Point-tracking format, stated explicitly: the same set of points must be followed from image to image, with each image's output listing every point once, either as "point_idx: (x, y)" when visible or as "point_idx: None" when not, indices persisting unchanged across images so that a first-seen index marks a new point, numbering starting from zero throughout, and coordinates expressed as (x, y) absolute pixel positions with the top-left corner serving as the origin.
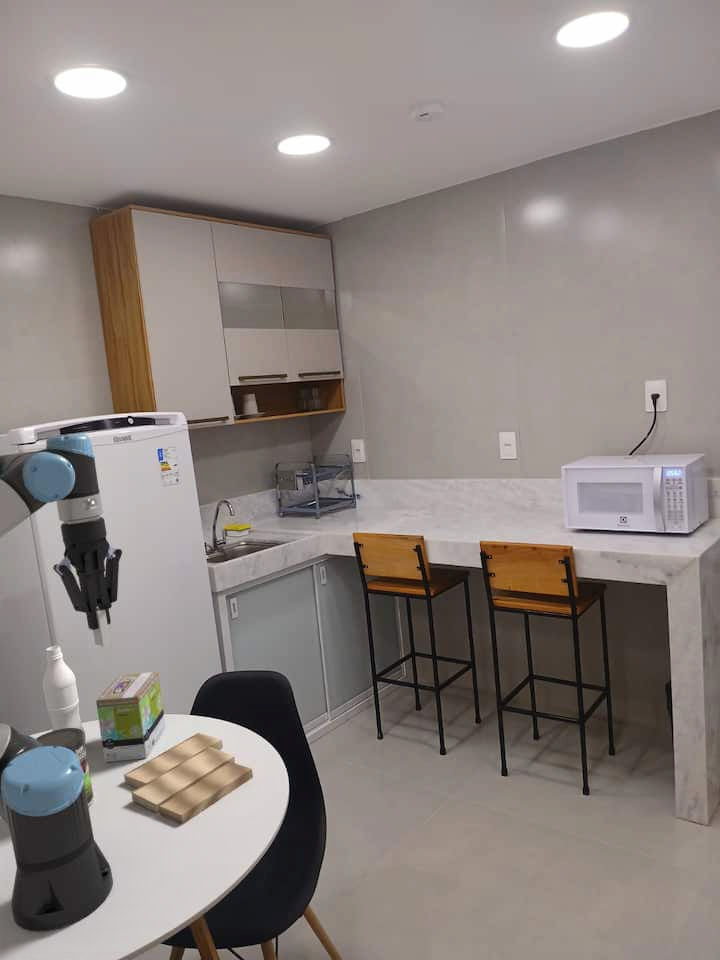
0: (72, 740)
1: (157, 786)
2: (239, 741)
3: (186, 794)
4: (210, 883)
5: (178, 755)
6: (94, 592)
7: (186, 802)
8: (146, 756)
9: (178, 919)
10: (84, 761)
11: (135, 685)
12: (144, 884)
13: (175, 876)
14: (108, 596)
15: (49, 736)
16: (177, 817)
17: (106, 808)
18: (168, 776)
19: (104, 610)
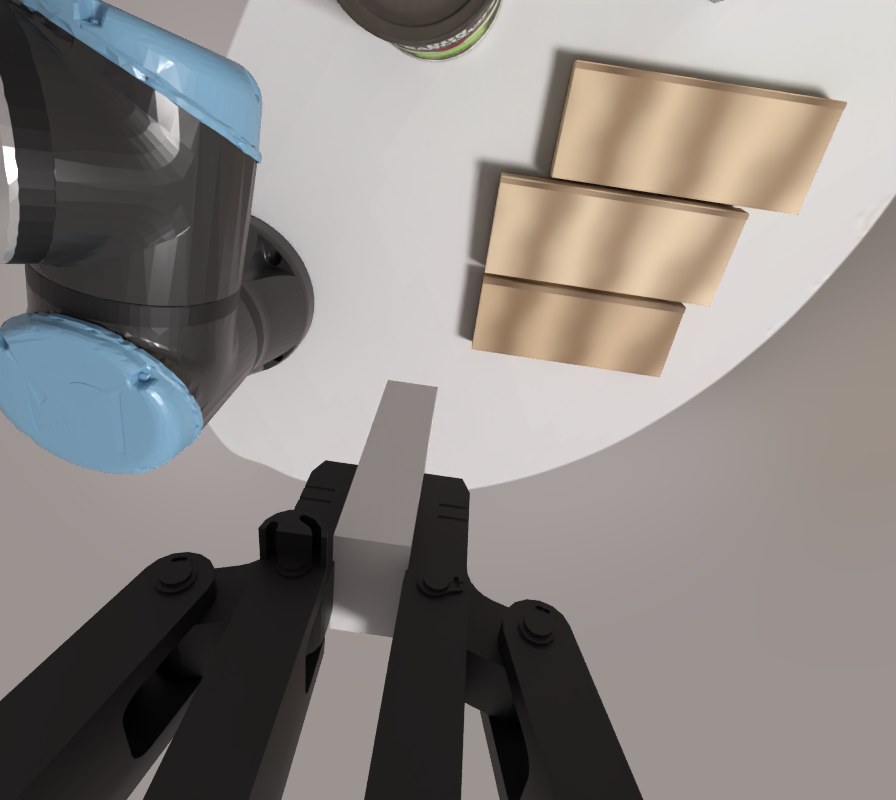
0: (435, 11)
1: (542, 221)
2: (822, 234)
3: (537, 307)
4: None
5: (700, 148)
6: (379, 715)
7: (511, 328)
8: (714, 2)
9: (301, 476)
10: (461, 39)
11: None
12: (324, 390)
13: (360, 420)
14: (500, 695)
15: None
16: (474, 331)
17: (462, 118)
18: (588, 214)
19: (392, 633)
